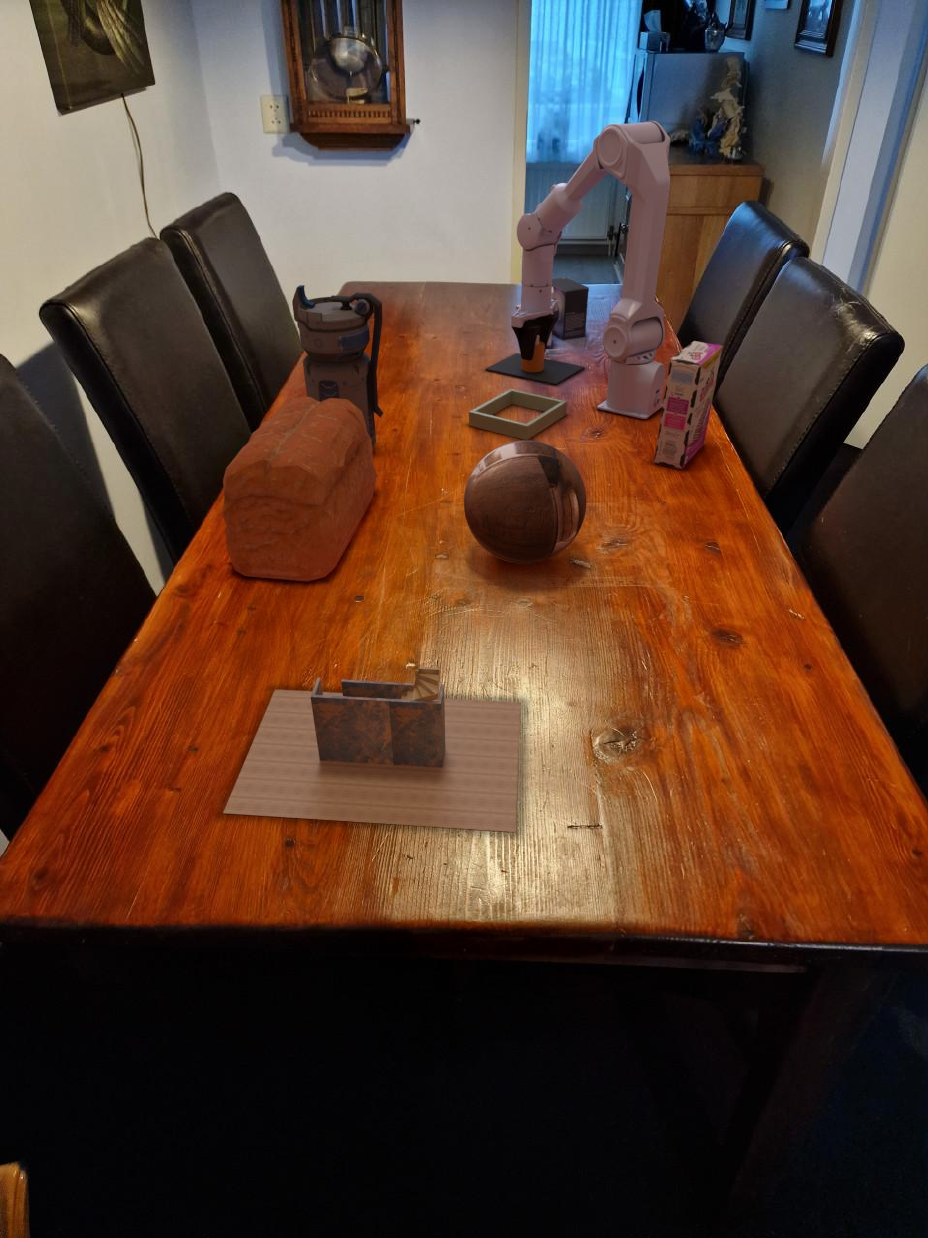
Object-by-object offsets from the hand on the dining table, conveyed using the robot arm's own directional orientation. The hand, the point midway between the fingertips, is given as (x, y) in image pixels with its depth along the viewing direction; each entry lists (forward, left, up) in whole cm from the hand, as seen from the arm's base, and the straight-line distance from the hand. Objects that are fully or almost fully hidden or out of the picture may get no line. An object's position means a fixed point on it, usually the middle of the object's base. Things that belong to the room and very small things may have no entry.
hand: (533, 355), depth 161 cm
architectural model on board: (-43, +101, -3) cm, 110 cm away
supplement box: (+8, -16, -3) cm, 18 cm away
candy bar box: (-40, +22, -3) cm, 46 cm away
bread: (-7, +73, -3) cm, 73 cm away
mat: (0, -1, -3) cm, 3 cm away
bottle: (0, 0, -3) cm, 3 cm away
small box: (+8, -27, -3) cm, 28 cm away
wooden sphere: (-35, +63, -3) cm, 72 cm away
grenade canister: (+5, +50, -3) cm, 50 cm away
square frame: (-11, +24, -3) cm, 27 cm away
